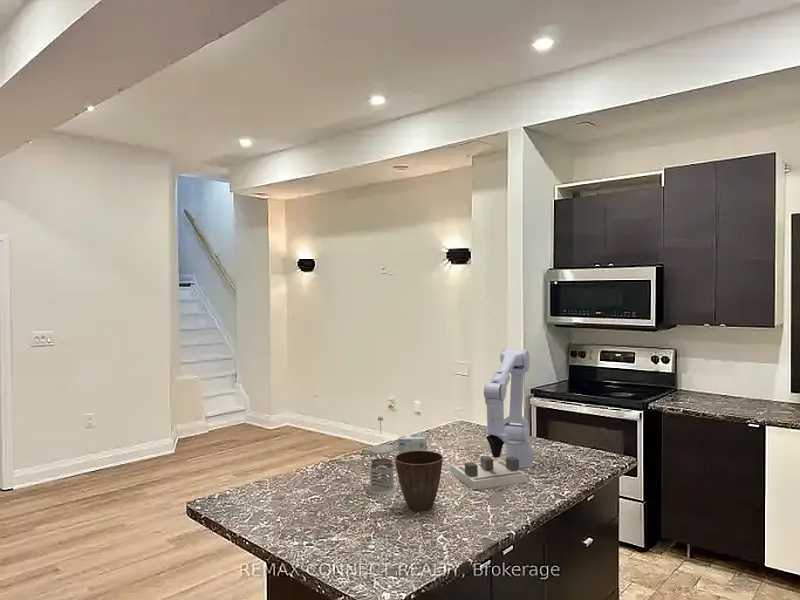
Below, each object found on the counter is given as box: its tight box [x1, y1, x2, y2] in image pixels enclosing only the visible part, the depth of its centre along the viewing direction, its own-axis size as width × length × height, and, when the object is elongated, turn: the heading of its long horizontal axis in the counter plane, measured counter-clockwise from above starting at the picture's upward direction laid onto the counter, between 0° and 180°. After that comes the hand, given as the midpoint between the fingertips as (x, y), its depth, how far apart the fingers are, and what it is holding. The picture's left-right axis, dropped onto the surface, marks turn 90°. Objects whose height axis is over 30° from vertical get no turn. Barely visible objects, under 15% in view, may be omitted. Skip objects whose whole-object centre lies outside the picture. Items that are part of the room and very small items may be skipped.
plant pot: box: [394, 450, 444, 513], centre depth 185 cm, size 15×15×16 cm
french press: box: [361, 416, 397, 495], centre depth 202 cm, size 10×12×25 cm
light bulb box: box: [397, 434, 428, 454], centre depth 231 cm, size 11×7×11 cm, turn 84°
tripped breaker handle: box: [480, 455, 494, 470], centre depth 212 cm, size 3×4×4 cm
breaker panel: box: [449, 457, 527, 491], centre depth 212 cm, size 20×20×7 cm
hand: (496, 456), depth 205 cm, fingers closed
